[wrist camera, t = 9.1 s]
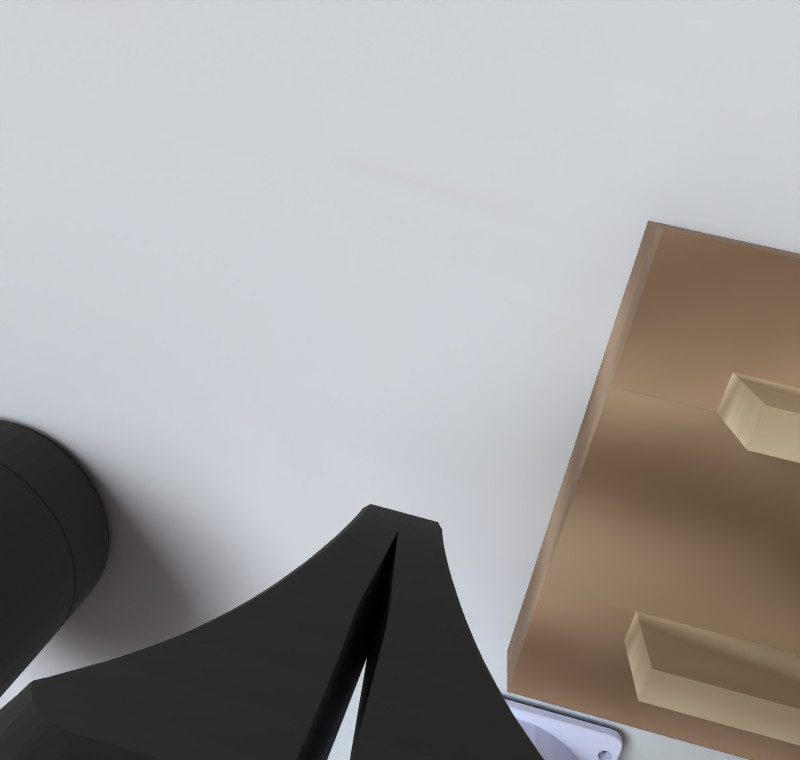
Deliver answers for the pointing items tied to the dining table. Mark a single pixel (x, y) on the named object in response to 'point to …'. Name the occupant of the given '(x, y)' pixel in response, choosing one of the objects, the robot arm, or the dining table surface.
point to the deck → (682, 511)
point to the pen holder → (43, 544)
